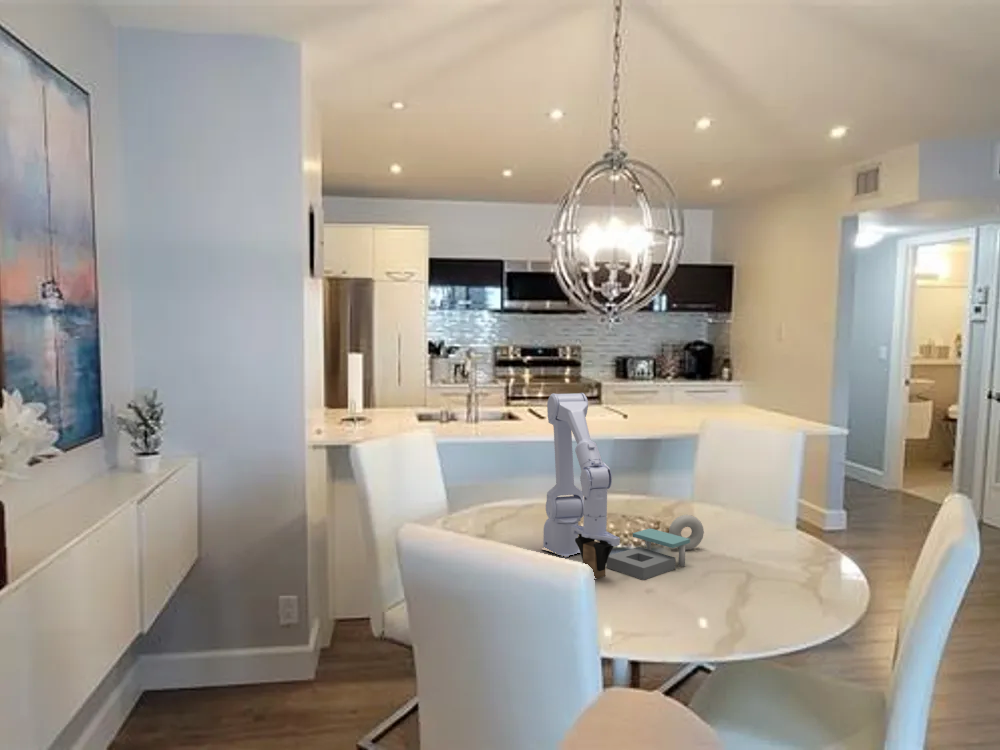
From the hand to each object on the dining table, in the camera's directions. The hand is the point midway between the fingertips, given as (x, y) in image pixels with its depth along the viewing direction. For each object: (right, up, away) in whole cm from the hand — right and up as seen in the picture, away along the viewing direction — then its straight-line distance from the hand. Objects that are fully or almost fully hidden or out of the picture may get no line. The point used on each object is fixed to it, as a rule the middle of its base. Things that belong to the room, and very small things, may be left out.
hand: (594, 567), depth 187 cm
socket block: (+12, -2, +6) cm, 14 cm away
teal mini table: (+19, -1, +11) cm, 22 cm away
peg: (0, -2, 0) cm, 2 cm away
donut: (+29, -1, +22) cm, 36 cm away
